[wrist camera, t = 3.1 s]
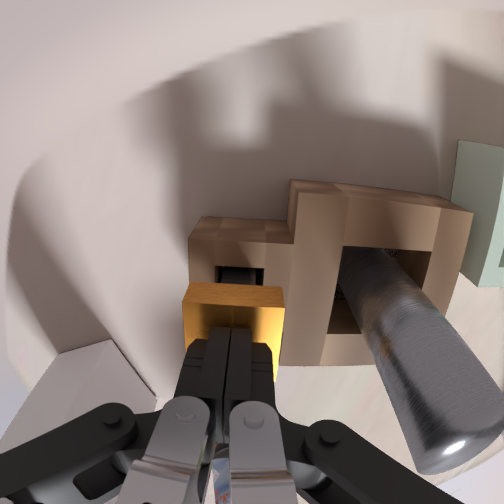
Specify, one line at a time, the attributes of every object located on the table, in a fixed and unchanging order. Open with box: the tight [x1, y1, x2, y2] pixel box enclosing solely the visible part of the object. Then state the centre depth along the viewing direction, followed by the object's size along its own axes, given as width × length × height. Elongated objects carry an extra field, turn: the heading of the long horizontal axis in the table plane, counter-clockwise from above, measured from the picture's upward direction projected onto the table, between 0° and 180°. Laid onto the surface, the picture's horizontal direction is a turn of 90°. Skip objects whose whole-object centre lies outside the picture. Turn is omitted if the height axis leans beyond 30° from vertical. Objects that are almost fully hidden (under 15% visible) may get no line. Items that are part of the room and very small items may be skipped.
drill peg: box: [337, 246, 504, 475], centre depth 13 cm, size 4×4×14 cm
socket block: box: [188, 179, 474, 366], centre depth 18 cm, size 15×10×4 cm, turn 87°
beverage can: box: [212, 430, 230, 504], centre depth 21 cm, size 6×7×12 cm
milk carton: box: [0, 339, 157, 504], centre depth 15 cm, size 7×7×19 cm
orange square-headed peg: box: [182, 266, 285, 381], centre depth 14 cm, size 4×4×6 cm
